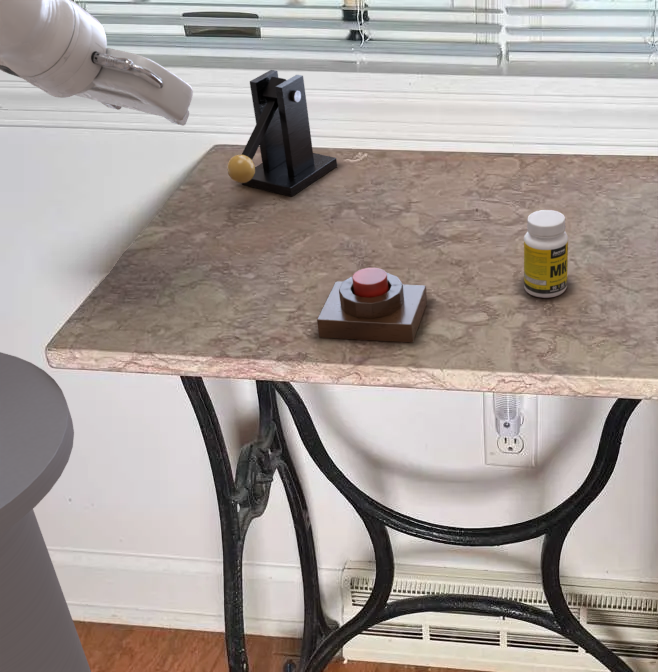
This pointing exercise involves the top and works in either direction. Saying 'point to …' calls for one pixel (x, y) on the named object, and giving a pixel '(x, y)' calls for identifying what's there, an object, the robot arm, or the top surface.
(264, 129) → the lever
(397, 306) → the button block
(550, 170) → the top surface
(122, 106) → the robot arm
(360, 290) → the button
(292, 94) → the bracket
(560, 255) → the supplement bottle
